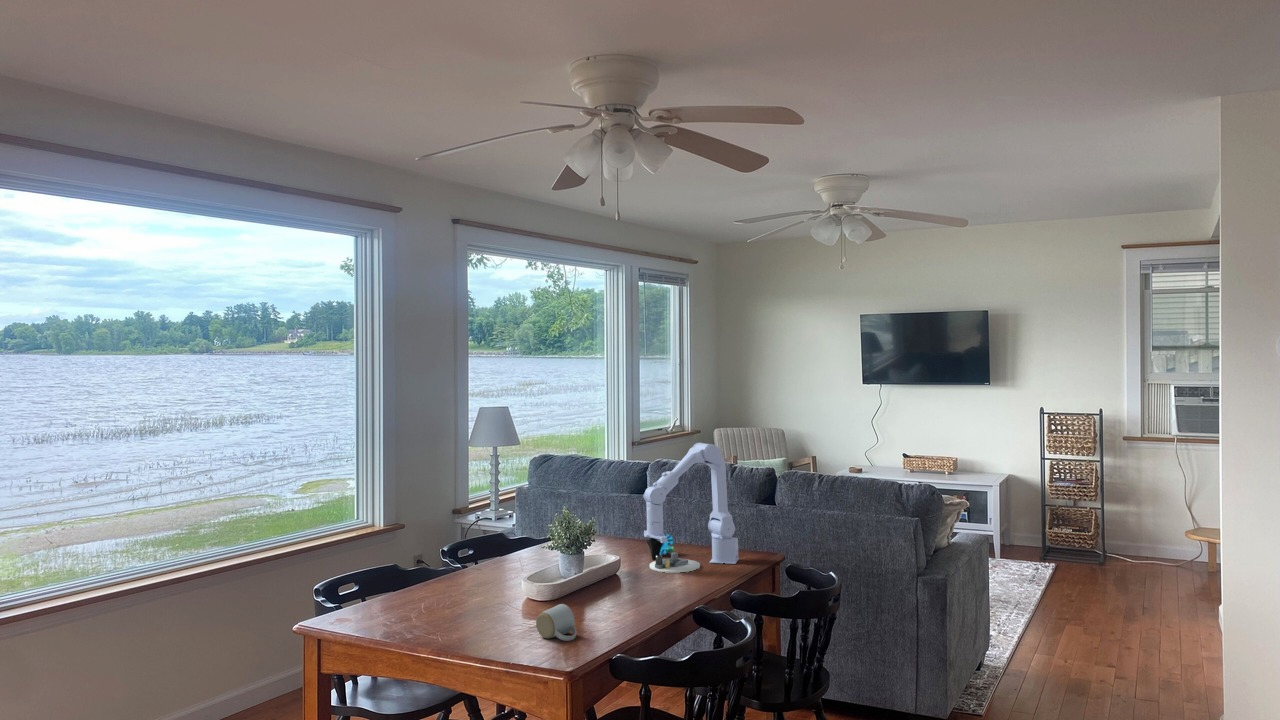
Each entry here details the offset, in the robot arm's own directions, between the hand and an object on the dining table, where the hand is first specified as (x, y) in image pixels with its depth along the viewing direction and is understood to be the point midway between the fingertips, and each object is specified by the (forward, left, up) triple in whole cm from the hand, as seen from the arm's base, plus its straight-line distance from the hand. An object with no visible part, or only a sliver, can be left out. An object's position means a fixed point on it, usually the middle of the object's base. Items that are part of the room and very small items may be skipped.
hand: (655, 560), depth 306 cm
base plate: (-6, -6, -4) cm, 9 cm away
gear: (+3, -24, -4) cm, 25 cm away
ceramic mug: (+7, +78, -4) cm, 78 cm away
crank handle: (-4, -3, -2) cm, 6 cm away
